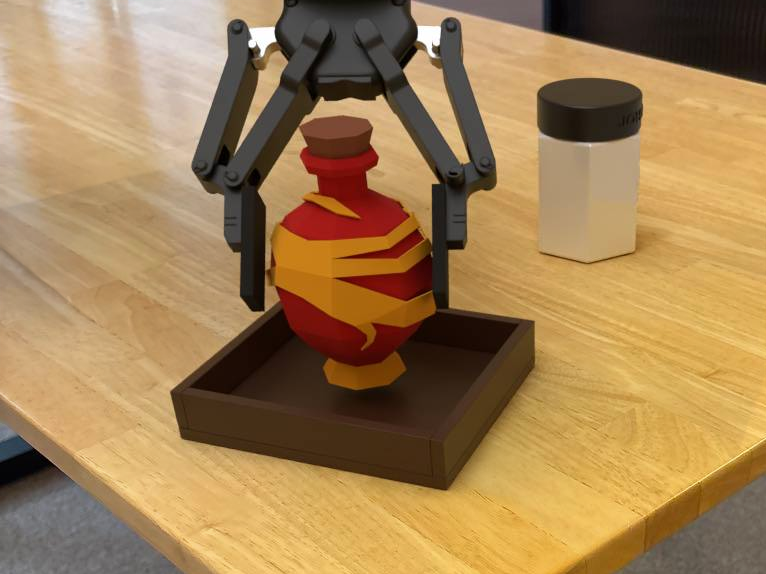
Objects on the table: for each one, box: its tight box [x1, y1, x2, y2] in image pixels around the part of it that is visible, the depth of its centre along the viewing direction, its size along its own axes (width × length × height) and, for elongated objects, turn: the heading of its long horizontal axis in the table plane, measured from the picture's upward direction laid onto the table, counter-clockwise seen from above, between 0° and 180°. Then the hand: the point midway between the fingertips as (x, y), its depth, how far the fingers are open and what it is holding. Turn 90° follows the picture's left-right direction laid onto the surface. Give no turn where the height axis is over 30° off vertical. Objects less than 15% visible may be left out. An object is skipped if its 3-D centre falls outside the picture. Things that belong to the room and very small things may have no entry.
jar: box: [536, 77, 644, 264], centre depth 86 cm, size 9×8×12 cm
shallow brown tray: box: [169, 300, 536, 491], centre depth 69 cm, size 18×16×3 cm
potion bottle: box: [265, 114, 436, 390], centre depth 64 cm, size 10×10×15 cm
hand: (346, 302), depth 62 cm, fingers closed on potion bottle, 10 cm apart
